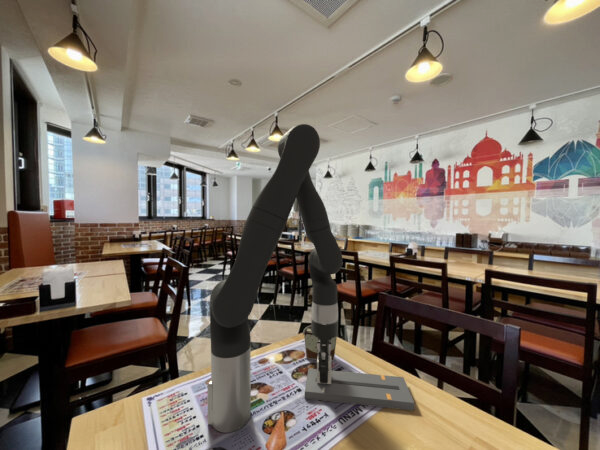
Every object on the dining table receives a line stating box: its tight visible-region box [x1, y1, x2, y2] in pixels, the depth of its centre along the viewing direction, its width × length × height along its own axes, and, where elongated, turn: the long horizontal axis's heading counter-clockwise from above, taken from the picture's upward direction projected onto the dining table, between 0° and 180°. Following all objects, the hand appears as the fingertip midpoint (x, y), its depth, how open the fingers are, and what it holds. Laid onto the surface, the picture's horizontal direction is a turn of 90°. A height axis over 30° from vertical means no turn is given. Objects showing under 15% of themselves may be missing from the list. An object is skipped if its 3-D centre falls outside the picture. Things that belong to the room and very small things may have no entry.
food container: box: [302, 324, 339, 362], centre depth 86 cm, size 12×6×10 cm, turn 84°
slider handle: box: [316, 356, 332, 384], centre depth 69 cm, size 4×4×6 cm
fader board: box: [304, 367, 415, 412], centre depth 68 cm, size 28×10×2 cm, turn 82°
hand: (324, 375), depth 70 cm, fingers open, 5 cm apart
